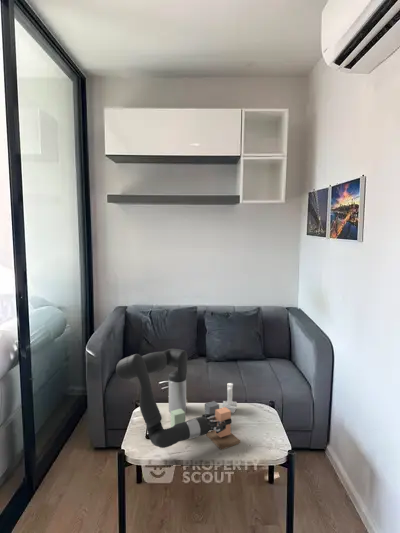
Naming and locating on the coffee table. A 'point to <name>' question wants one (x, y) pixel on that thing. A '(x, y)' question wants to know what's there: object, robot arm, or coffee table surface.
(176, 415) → the sage brick
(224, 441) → the walnut board
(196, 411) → the coffee table surface
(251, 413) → the coffee table surface
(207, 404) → the charcoal brick
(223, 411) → the terracotta brick
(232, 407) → the figurine
